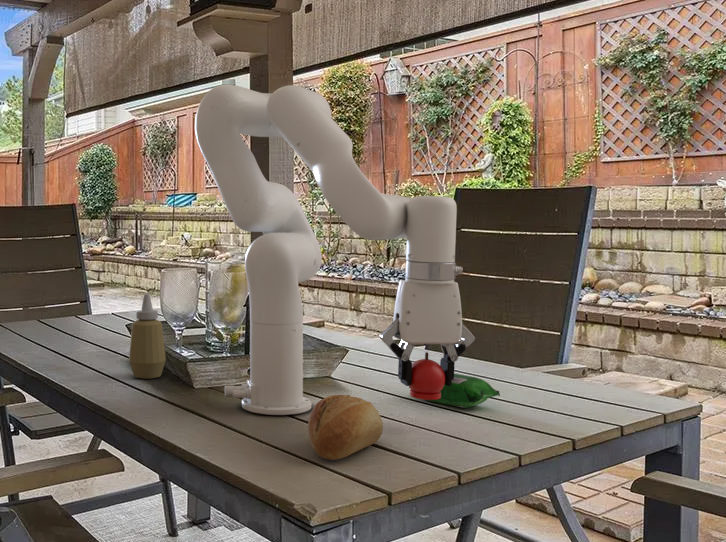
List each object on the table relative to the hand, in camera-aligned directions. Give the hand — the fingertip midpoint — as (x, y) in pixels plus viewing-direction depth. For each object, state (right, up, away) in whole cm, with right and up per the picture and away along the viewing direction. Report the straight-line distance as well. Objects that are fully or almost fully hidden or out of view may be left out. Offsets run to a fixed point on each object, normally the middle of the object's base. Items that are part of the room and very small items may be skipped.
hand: (425, 383), depth 122 cm
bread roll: (-15, -8, -12) cm, 21 cm away
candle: (0, -2, 0) cm, 2 cm away
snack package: (+10, -7, +18) cm, 22 cm away
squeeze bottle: (-48, -7, +43) cm, 65 cm away
